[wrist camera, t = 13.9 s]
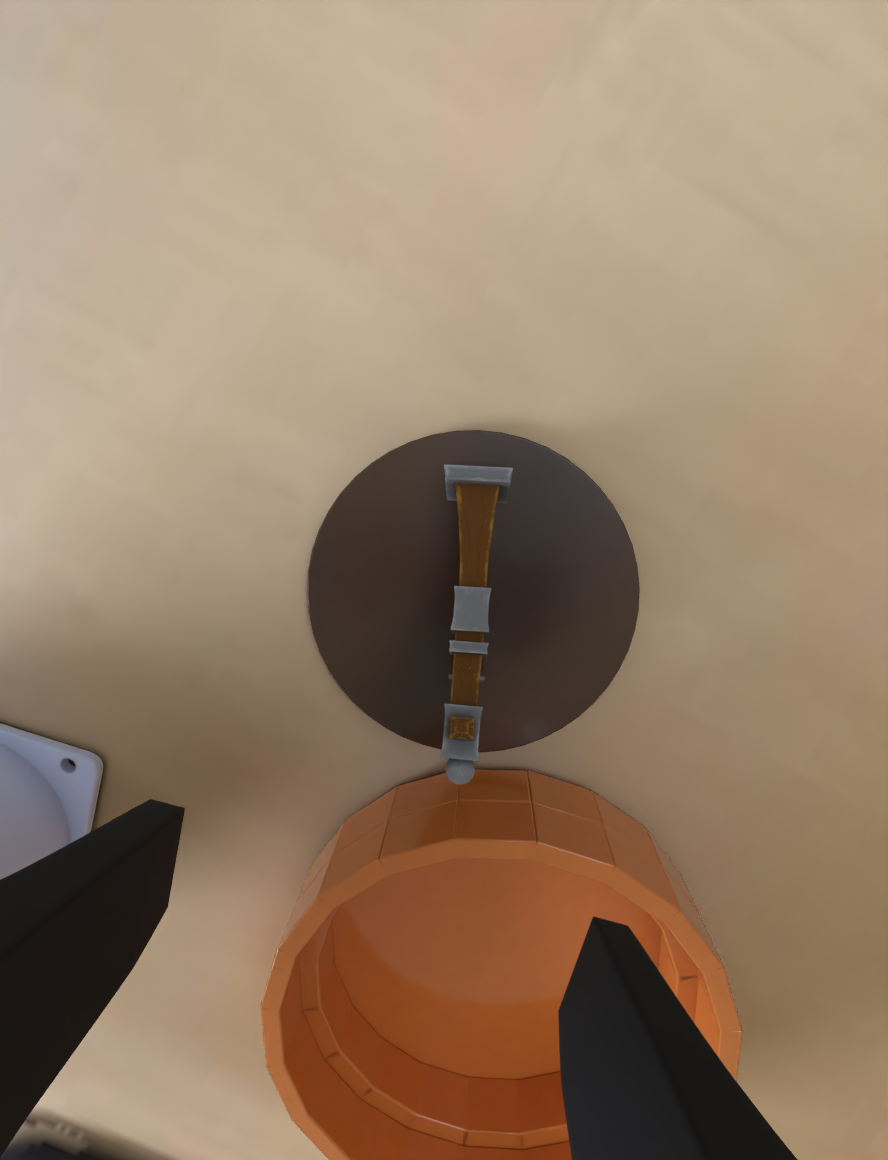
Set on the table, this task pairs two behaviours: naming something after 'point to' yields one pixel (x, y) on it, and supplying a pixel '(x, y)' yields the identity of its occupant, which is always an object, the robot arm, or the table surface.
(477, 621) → the wooden post with brackets
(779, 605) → the table surface
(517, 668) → the coaster
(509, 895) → the bowl
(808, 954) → the table surface
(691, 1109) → the robot arm
